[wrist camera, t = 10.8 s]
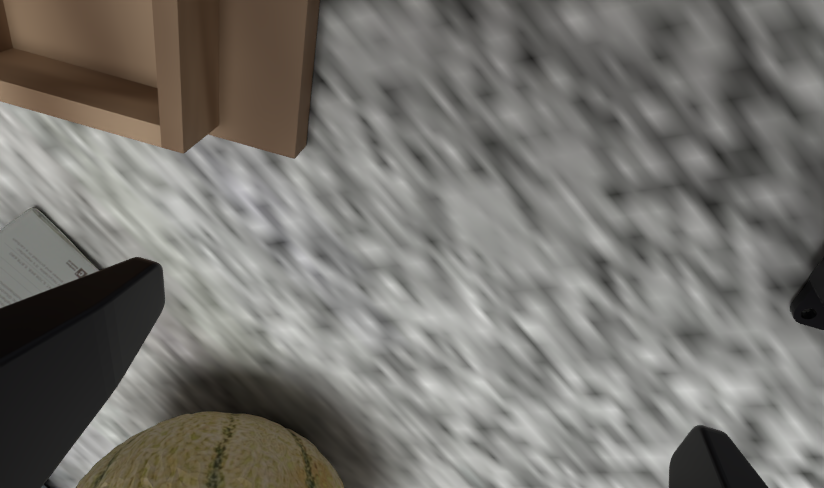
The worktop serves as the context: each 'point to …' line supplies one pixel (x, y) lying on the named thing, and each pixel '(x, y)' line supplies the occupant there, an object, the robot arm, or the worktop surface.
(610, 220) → the worktop surface
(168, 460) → the cantaloupe
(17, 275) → the skincare box
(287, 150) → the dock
